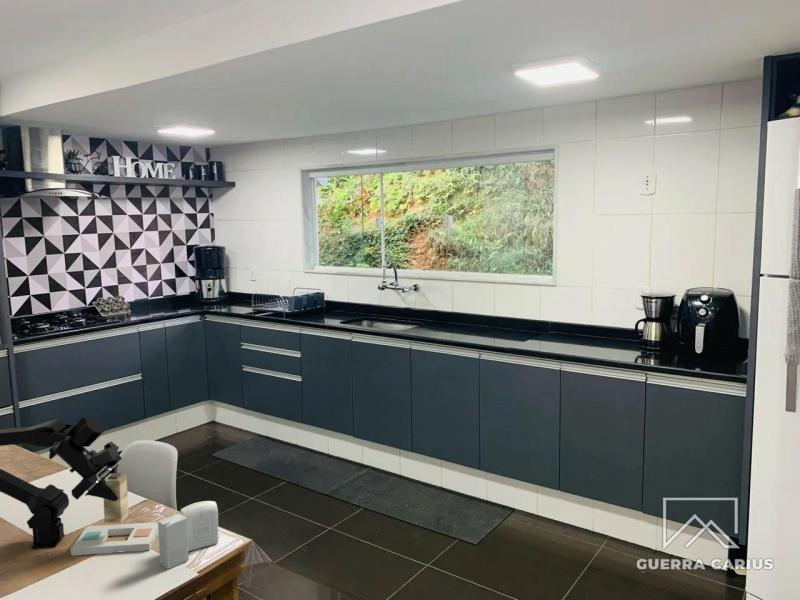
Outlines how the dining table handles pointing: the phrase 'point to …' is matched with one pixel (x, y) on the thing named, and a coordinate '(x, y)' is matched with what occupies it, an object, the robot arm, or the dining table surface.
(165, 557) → the skincare box
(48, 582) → the dining table surface
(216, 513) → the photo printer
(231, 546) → the dining table surface
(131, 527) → the panel
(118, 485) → the plug
